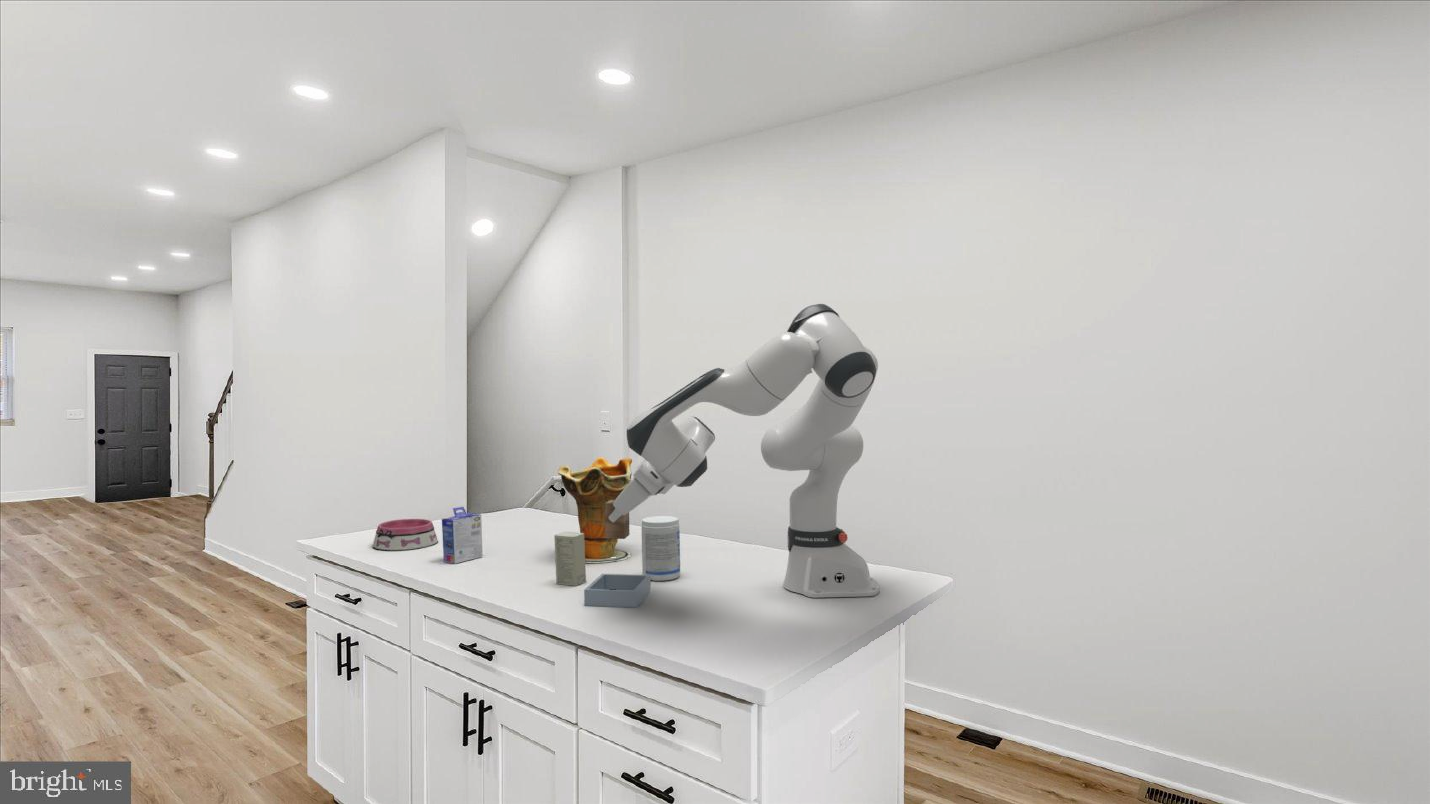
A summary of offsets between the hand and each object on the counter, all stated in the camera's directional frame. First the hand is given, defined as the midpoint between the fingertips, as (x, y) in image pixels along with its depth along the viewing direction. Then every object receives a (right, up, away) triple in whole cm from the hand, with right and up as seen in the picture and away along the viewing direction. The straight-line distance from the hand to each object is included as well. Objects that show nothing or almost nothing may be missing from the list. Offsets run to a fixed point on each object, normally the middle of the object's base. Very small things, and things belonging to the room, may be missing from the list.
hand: (614, 517), depth 167 cm
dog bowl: (-72, -18, +58) cm, 94 cm away
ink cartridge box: (-48, -18, +38) cm, 63 cm away
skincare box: (-13, -18, +13) cm, 26 cm away
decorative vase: (-10, -17, +41) cm, 46 cm away
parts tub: (+1, -18, +1) cm, 18 cm away
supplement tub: (+9, -18, +18) cm, 27 cm away
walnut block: (+1, -4, 0) cm, 4 cm away
